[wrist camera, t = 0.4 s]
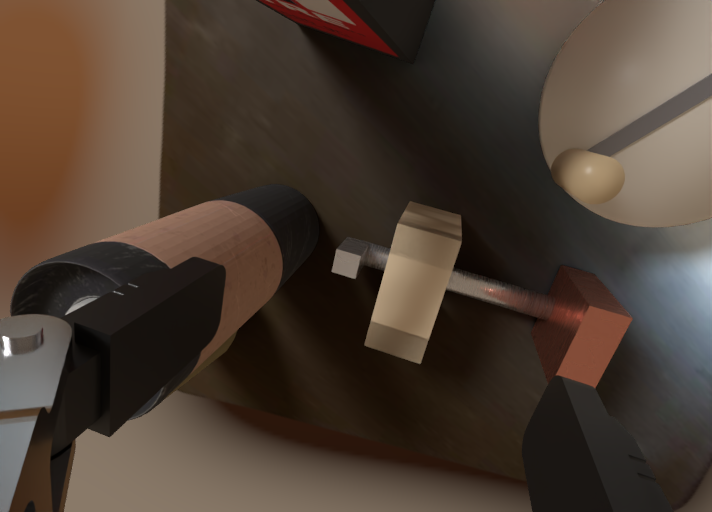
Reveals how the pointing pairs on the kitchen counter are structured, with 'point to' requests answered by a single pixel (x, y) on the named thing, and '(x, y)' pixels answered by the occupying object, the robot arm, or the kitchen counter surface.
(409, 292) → the block
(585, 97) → the handwheel
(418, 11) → the cleaning product box
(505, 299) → the hook rod
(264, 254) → the travel mug
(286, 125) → the kitchen counter surface
